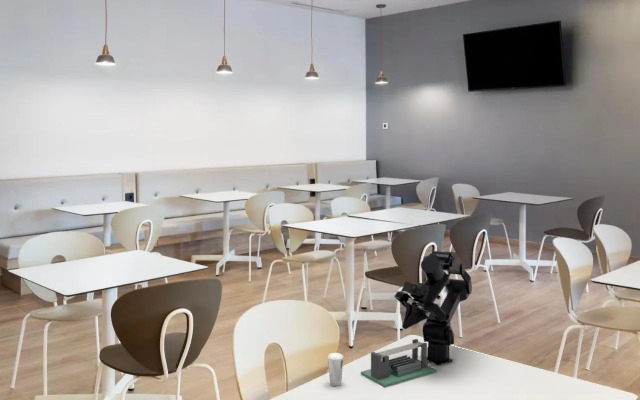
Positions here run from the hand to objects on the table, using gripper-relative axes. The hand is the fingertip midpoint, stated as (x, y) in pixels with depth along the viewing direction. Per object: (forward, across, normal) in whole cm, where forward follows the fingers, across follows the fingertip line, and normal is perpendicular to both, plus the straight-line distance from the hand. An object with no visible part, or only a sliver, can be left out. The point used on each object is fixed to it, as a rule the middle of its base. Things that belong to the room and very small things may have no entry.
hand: (403, 328), depth 185 cm
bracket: (+6, 0, +14) cm, 15 cm away
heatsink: (+10, +1, +9) cm, 14 cm away
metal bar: (+7, +1, +4) cm, 8 cm away
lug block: (+16, +1, +2) cm, 17 cm away
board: (+11, +1, +8) cm, 14 cm away
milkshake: (+25, -2, -6) cm, 26 cm away
